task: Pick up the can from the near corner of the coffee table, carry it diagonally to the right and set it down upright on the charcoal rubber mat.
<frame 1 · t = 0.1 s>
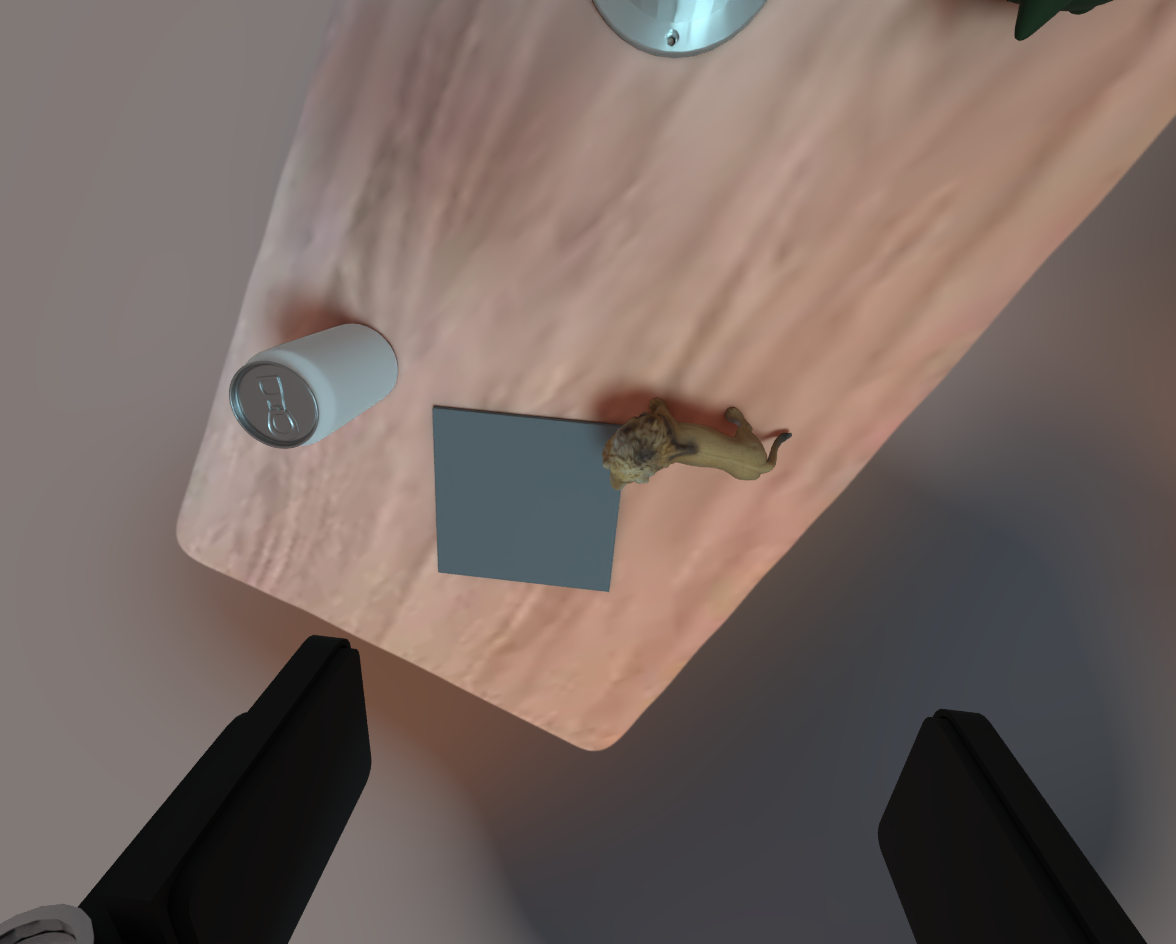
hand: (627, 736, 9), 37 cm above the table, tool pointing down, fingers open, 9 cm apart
can: (362, 362, 46), on the table
mat: (527, 502, 49), on the table
lion figurine: (690, 430, 46), on the table
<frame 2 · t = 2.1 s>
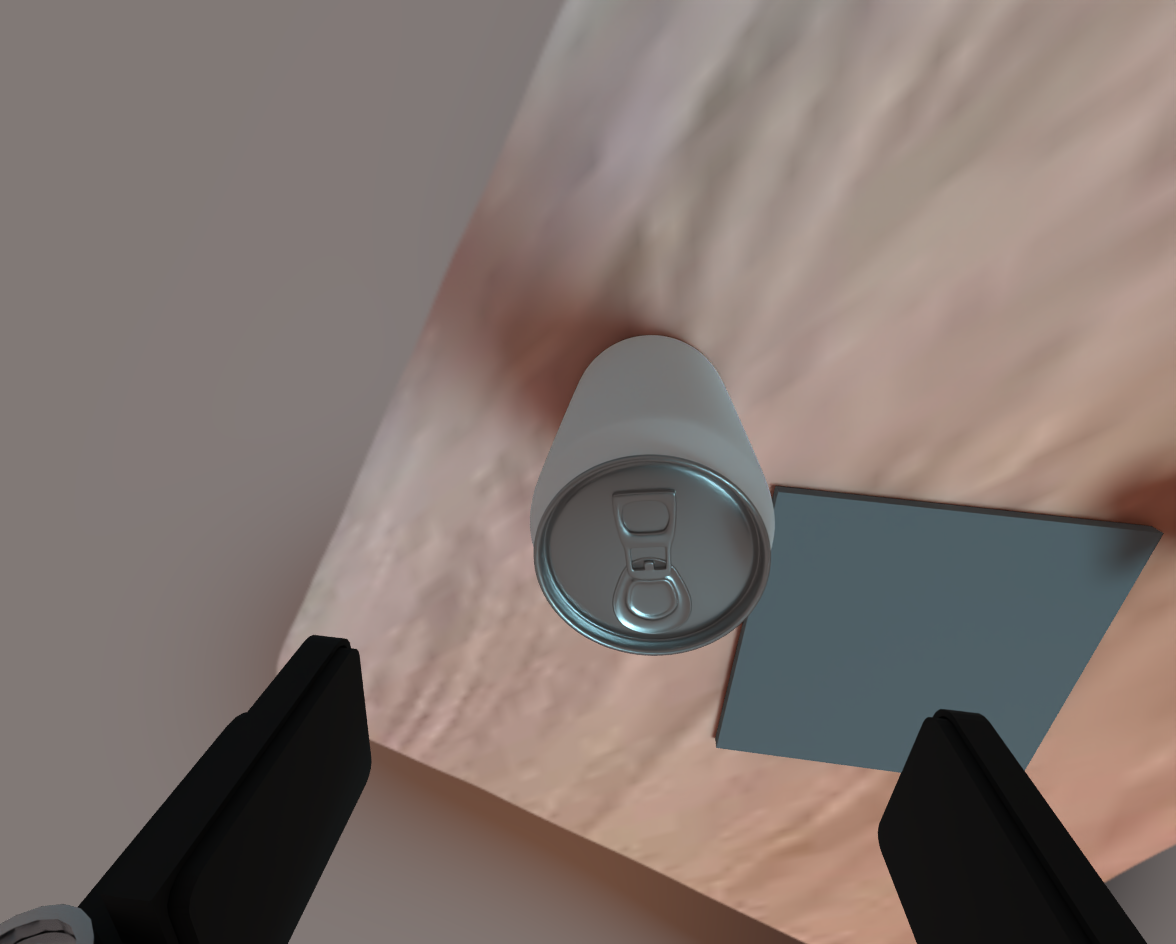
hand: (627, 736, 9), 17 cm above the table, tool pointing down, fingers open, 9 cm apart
can: (649, 406, 24), on the table
mat: (903, 646, 28), on the table
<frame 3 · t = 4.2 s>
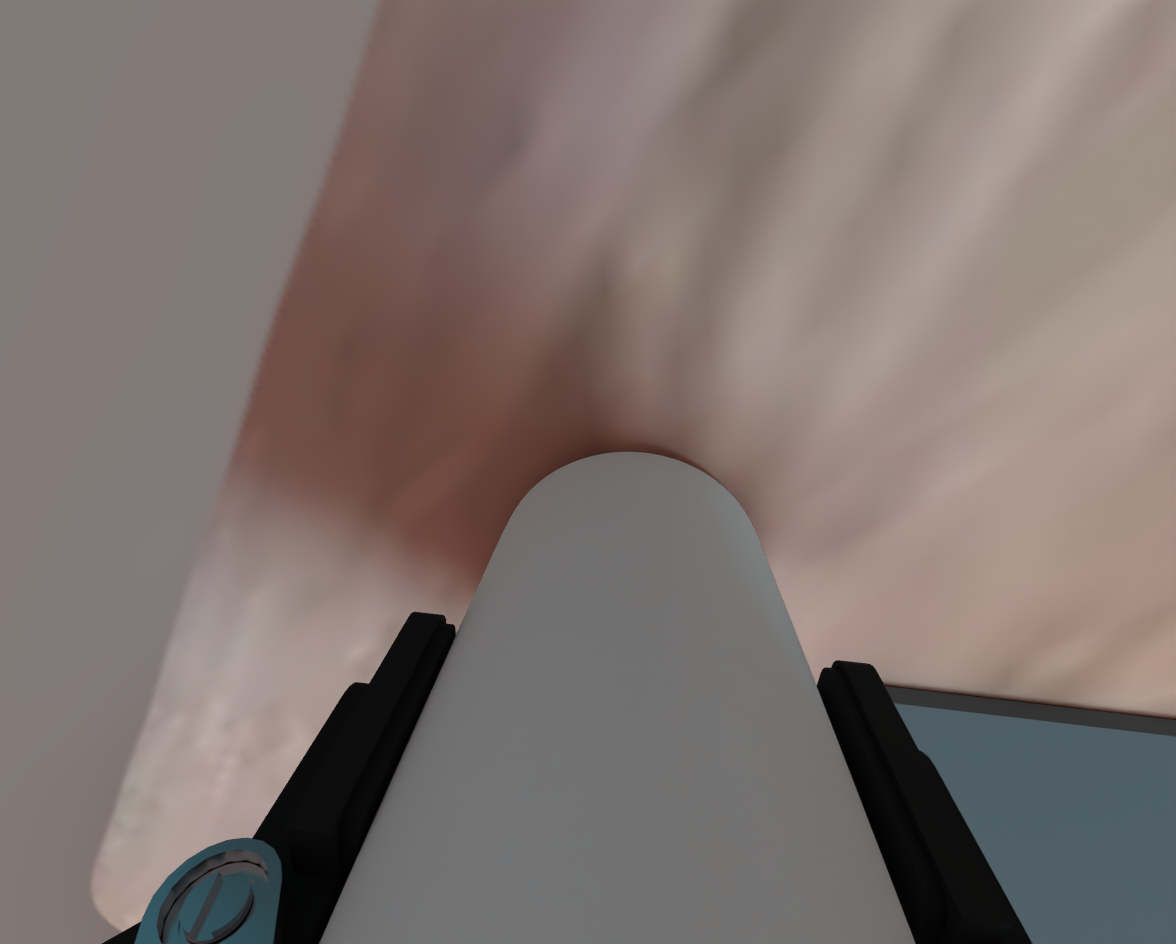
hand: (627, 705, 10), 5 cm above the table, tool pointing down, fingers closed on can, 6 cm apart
can: (628, 558, 14), on the table, touching gripper
mat: (1027, 899, 18), on the table
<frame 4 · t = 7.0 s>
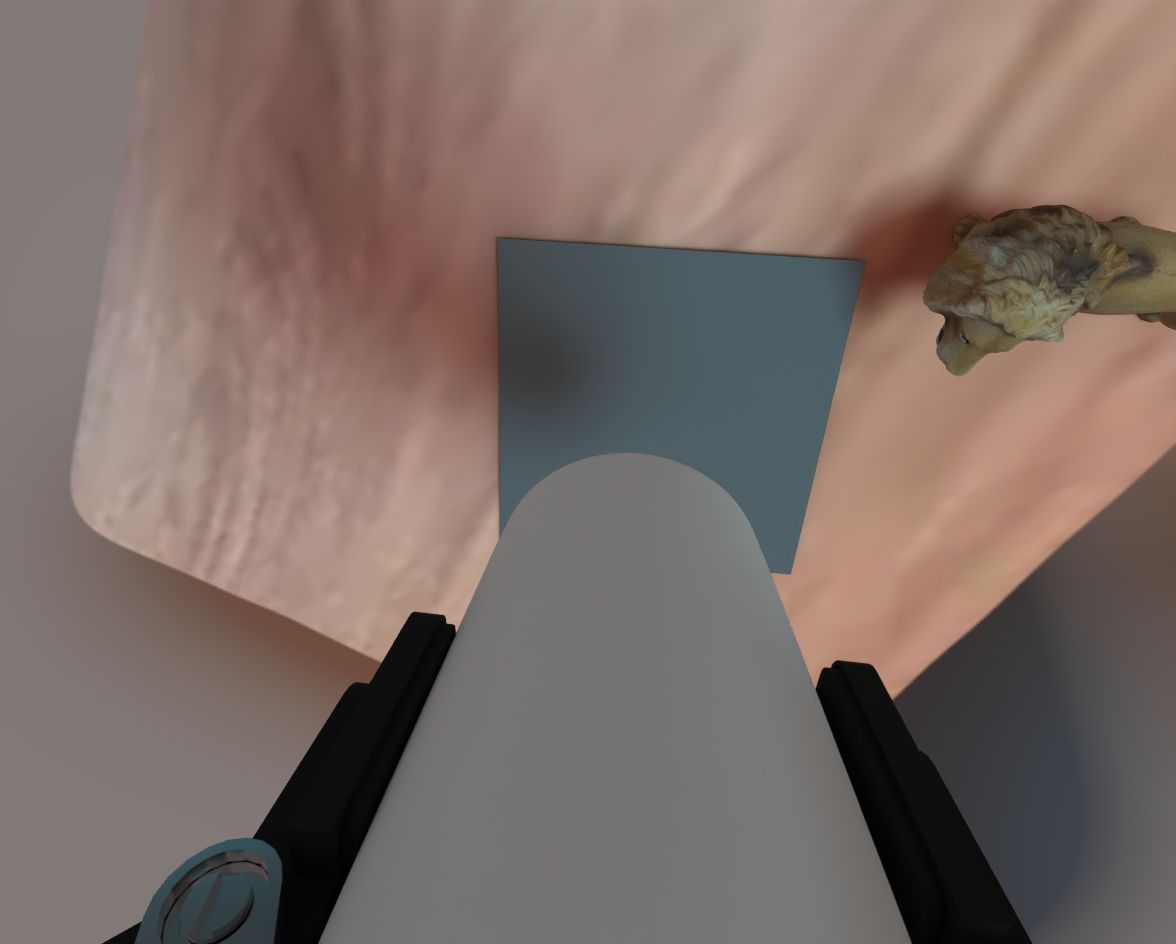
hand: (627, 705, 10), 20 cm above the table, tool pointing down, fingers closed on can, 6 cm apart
can: (627, 559, 15), point 15 cm above the table, touching gripper
mat: (658, 419, 28), on the table
lion figurine: (1024, 278, 25), on the table
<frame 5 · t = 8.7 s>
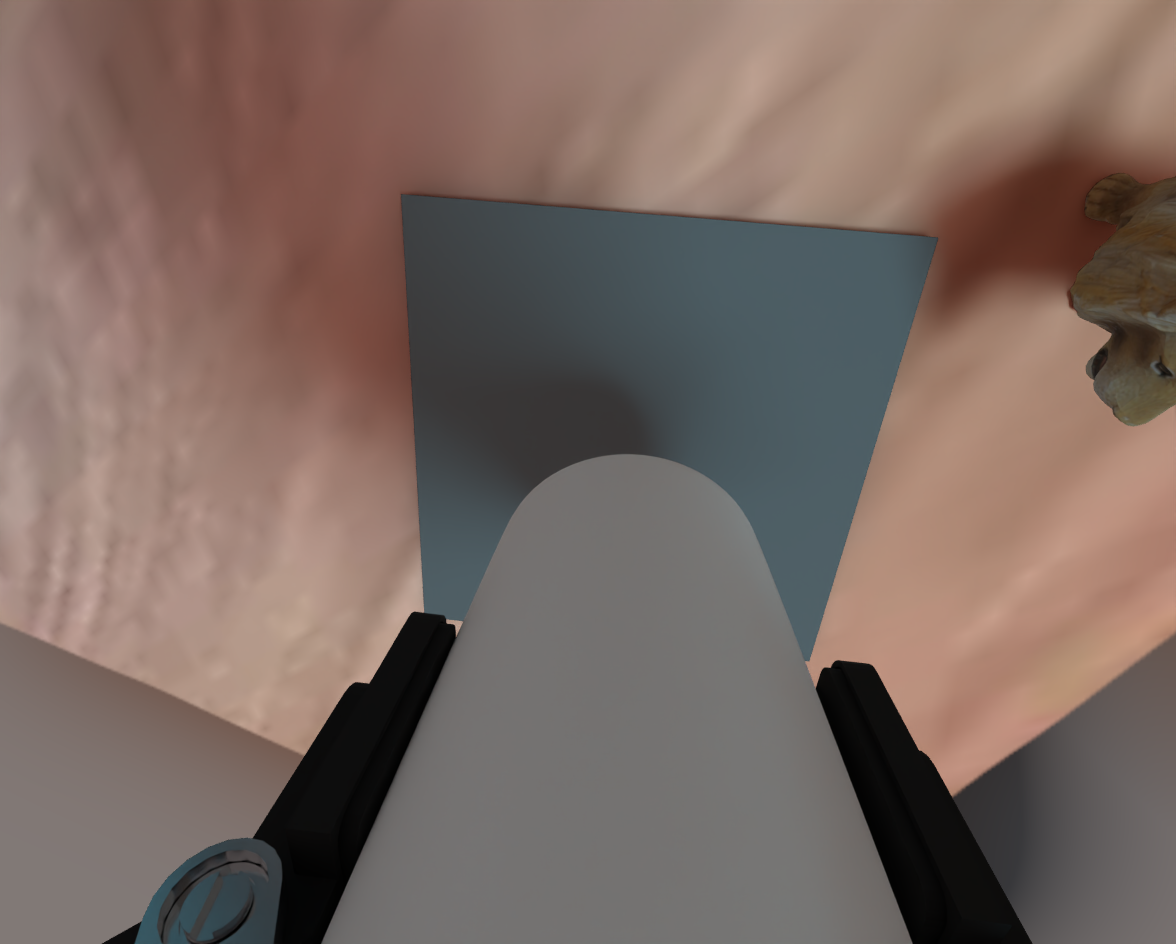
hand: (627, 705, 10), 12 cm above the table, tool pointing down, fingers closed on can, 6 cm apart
can: (628, 560, 15), point 7 cm above the table, touching gripper
mat: (634, 455, 21), on the table
when the fingers open (6 cm above the table, at t = 10.2 s): can drops 1 cm, resting on mat.
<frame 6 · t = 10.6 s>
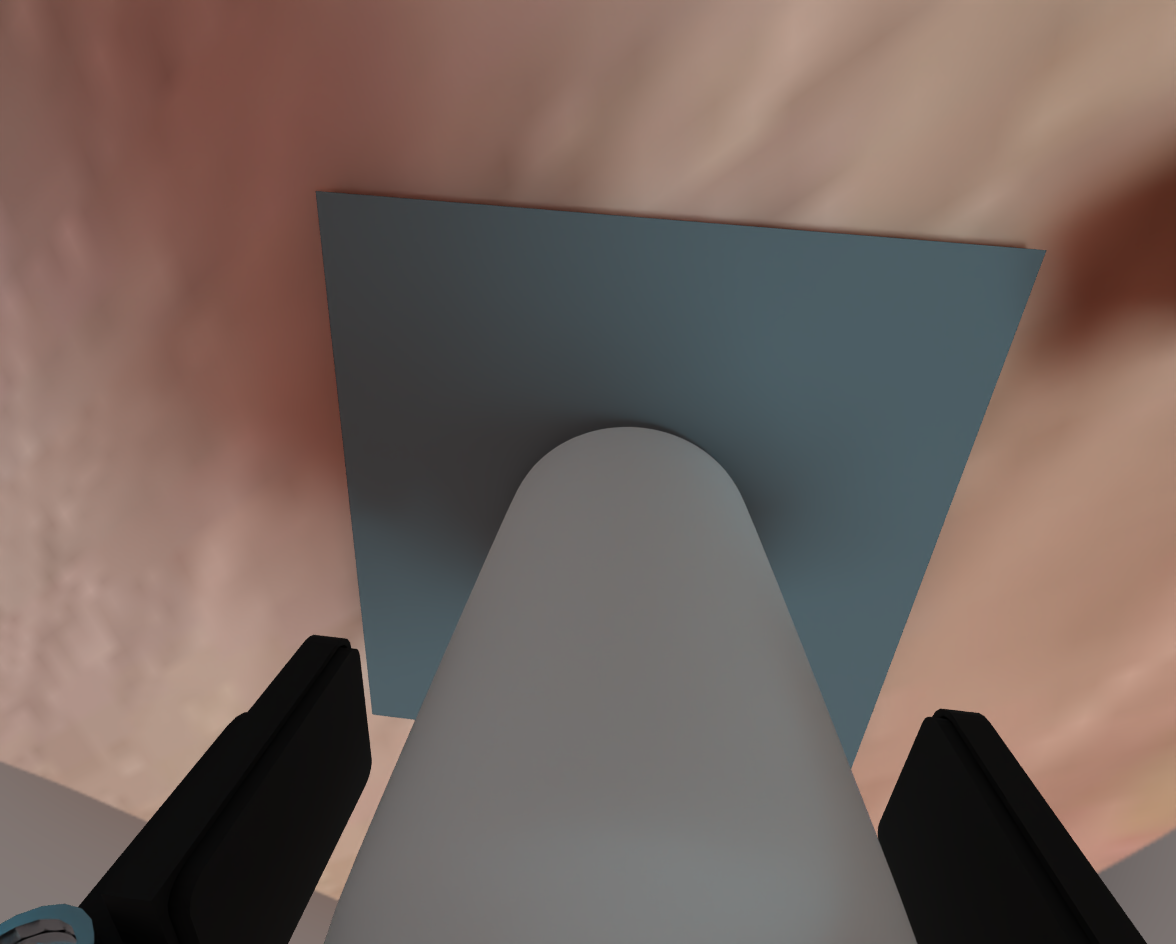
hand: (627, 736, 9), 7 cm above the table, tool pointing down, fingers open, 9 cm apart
can: (627, 528, 16), resting on mat
mat: (631, 525, 16), on the table
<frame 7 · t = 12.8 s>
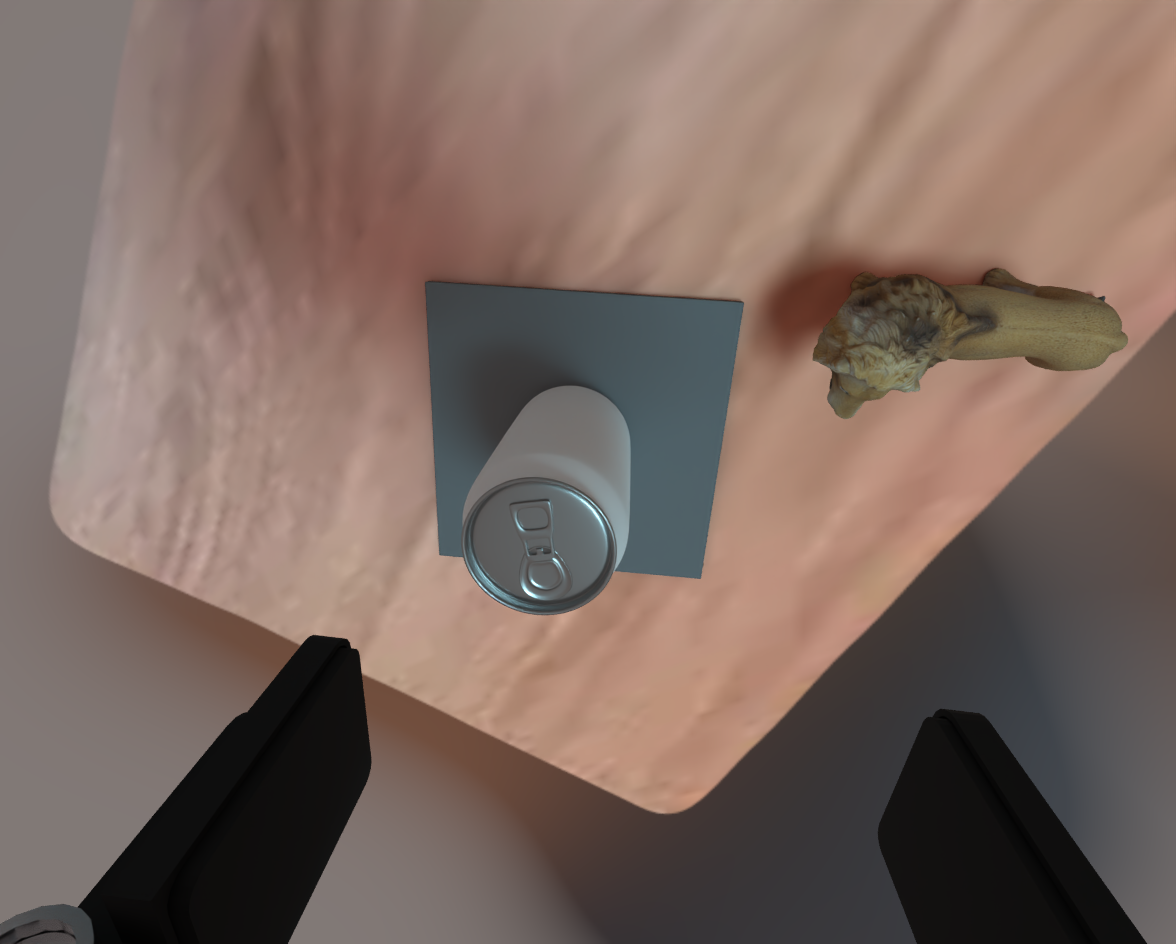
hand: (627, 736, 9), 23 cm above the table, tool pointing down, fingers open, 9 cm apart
can: (572, 439, 31), resting on mat
mat: (575, 439, 32), on the table
lion figurine: (918, 322, 28), on the table
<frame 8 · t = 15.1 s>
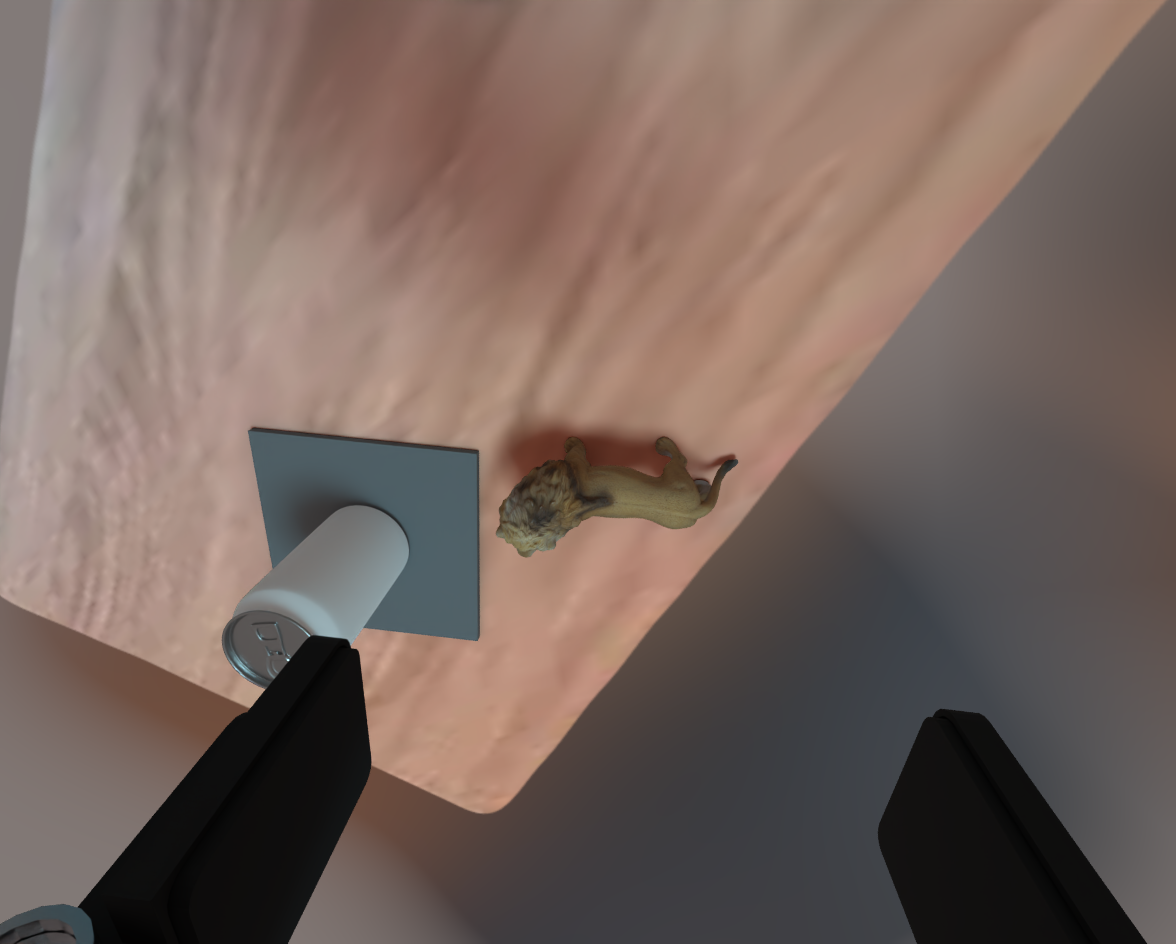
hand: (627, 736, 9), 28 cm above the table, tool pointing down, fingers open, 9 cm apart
can: (369, 540, 42), resting on mat
mat: (374, 539, 42), on the table
lion figurine: (619, 469, 39), on the table
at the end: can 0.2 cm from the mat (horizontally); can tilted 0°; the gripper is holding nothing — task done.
